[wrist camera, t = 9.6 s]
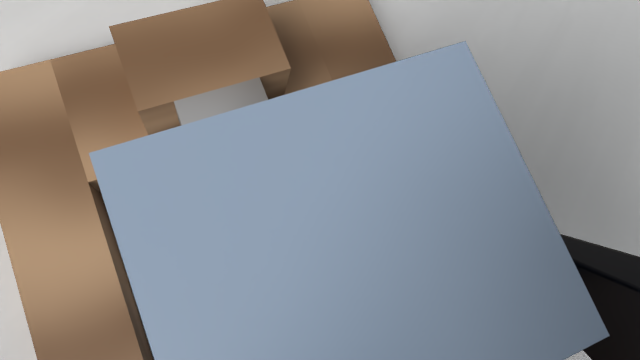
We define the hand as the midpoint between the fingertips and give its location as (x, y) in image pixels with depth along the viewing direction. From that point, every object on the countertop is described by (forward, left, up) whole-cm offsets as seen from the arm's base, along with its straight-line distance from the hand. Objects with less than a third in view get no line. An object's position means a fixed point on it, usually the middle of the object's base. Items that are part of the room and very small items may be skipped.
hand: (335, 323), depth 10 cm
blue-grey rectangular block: (+1, 0, -8) cm, 8 cm away
